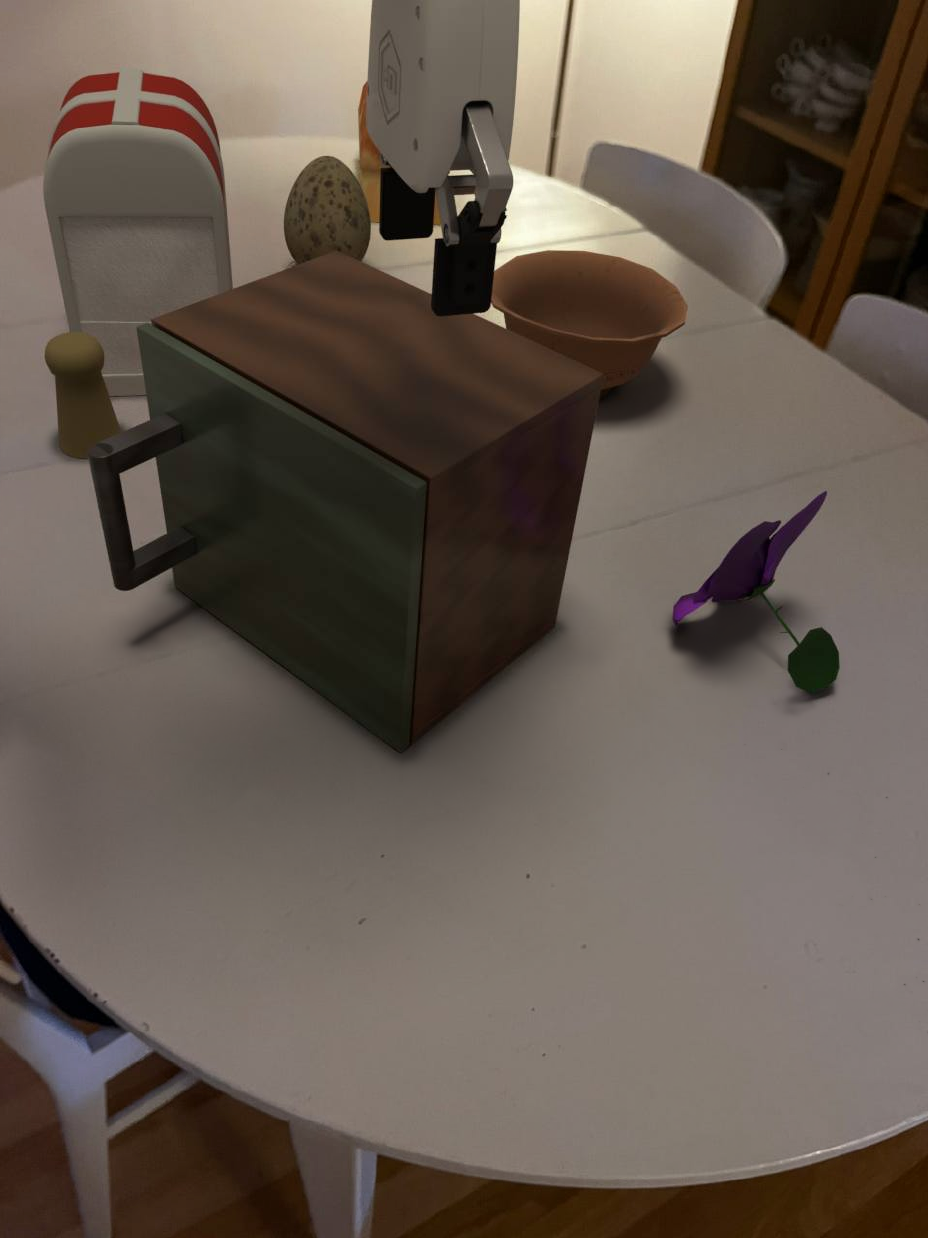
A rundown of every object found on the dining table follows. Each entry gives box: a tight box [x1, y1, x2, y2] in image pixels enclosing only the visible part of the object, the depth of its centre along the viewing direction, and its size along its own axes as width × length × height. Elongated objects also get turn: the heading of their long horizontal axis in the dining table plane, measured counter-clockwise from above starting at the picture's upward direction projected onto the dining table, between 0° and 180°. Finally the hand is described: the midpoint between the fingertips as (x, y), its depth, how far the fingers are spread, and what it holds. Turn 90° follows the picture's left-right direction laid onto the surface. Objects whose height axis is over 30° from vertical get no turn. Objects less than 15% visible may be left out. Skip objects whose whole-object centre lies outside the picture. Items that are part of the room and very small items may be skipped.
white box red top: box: [42, 68, 234, 397], centre depth 105 cm, size 16×18×27 cm
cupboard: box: [151, 251, 604, 745], centre depth 78 cm, size 18×26×24 cm
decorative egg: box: [283, 155, 372, 265], centre depth 127 cm, size 11×11×15 cm
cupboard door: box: [87, 323, 427, 753], centre depth 71 cm, size 8×26×24 cm, turn 50°
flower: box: [671, 490, 841, 694], centre depth 82 cm, size 15×15×14 cm
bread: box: [357, 81, 451, 226], centre depth 150 cm, size 25×12×15 cm, turn 5°
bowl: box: [491, 249, 689, 398], centre depth 114 cm, size 22×22×11 cm
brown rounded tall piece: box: [44, 331, 122, 460], centre depth 97 cm, size 6×6×11 cm
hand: (431, 272), depth 58 cm, fingers open, 9 cm apart
